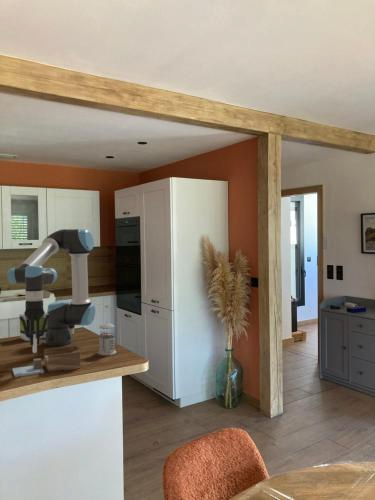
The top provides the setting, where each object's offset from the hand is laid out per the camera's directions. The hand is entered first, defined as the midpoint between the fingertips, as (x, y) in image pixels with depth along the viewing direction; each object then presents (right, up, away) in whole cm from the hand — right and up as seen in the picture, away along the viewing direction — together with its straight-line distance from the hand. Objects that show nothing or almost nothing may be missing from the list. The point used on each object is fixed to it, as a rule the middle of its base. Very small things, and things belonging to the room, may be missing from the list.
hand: (34, 352), depth 186 cm
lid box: (+11, -8, +6) cm, 15 cm away
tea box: (-22, -7, +61) cm, 65 cm away
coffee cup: (-5, -7, +70) cm, 70 cm away
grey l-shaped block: (-2, -9, -2) cm, 9 cm away
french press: (+27, -8, +29) cm, 40 cm away
